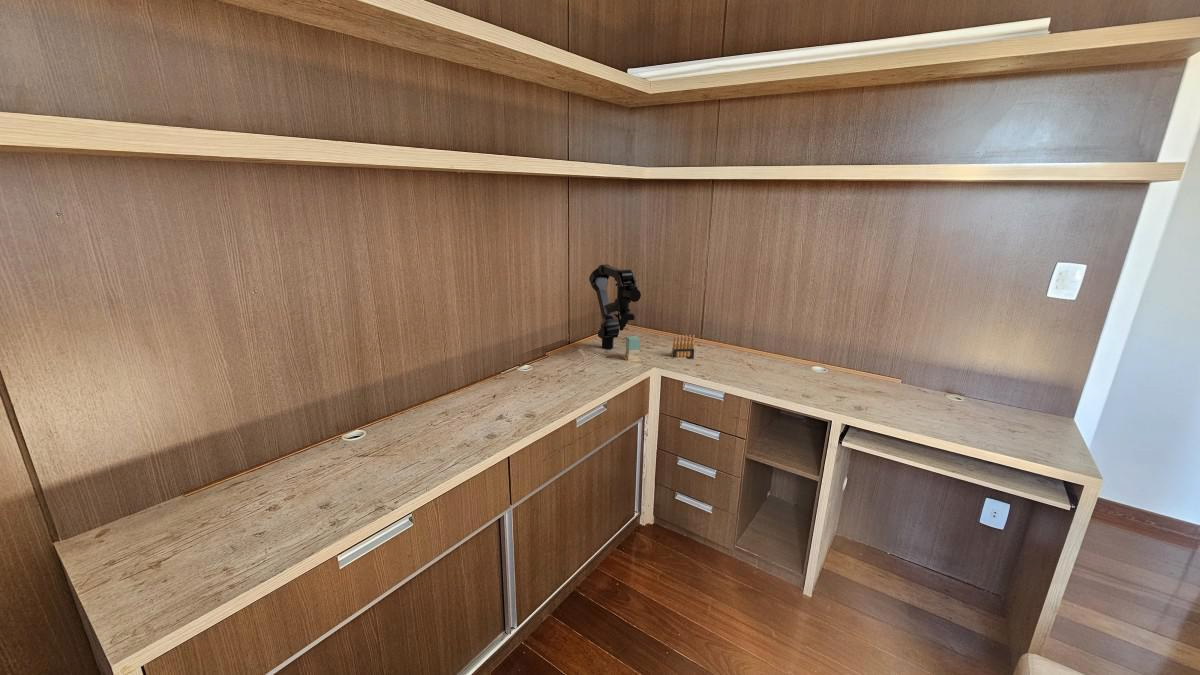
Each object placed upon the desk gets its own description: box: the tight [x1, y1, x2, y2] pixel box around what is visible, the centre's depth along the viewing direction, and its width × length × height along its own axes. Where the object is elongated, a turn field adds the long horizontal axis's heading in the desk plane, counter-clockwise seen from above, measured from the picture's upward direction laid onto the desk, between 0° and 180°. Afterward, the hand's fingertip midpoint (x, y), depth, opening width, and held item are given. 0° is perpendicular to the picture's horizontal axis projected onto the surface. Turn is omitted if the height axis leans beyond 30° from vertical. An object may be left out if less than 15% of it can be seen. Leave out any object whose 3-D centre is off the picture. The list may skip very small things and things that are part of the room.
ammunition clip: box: [670, 334, 695, 360], centre depth 234 cm, size 11×2×12 cm, turn 101°
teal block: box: [625, 335, 641, 351], centre depth 227 cm, size 5×5×5 cm
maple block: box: [624, 347, 640, 362], centre depth 229 cm, size 5×5×5 cm
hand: (621, 330), depth 231 cm, fingers closed
